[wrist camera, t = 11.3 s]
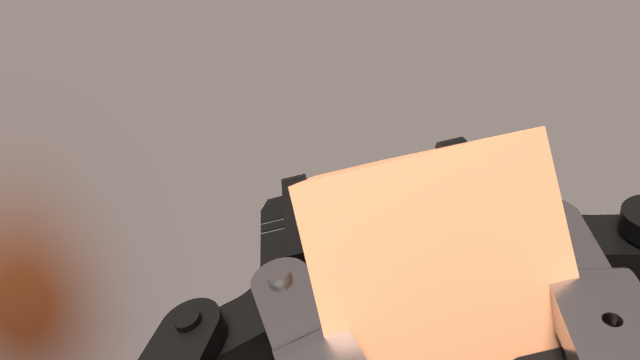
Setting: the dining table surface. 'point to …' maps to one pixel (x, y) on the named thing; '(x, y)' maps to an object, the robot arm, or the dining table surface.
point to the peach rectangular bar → (440, 250)
